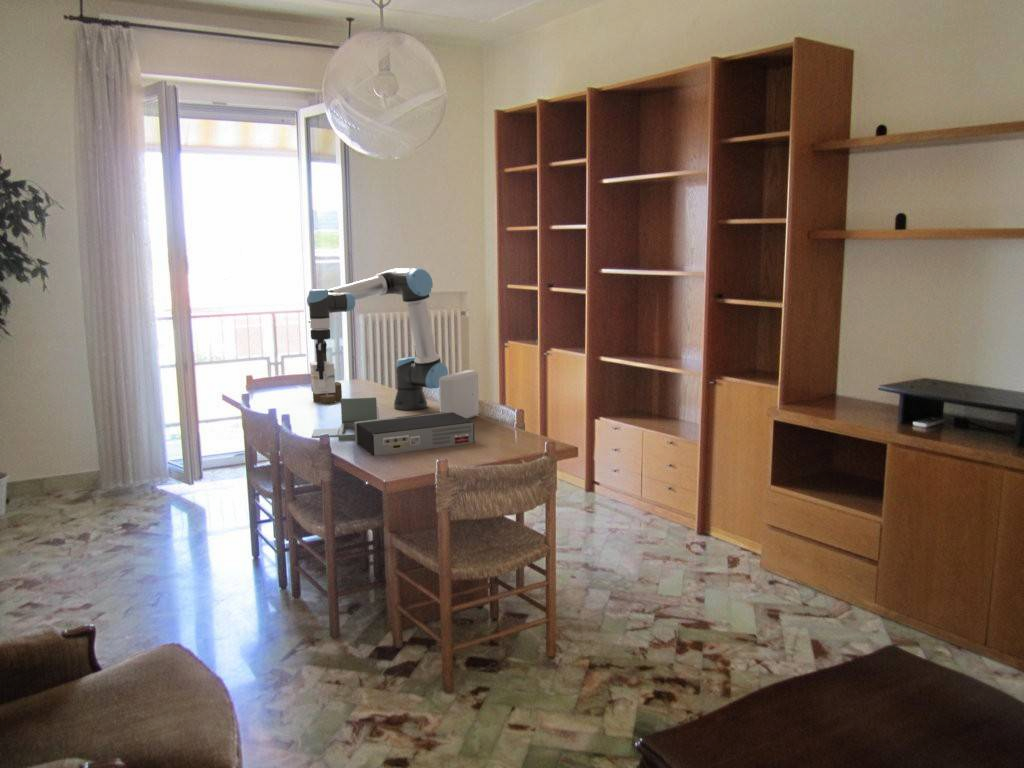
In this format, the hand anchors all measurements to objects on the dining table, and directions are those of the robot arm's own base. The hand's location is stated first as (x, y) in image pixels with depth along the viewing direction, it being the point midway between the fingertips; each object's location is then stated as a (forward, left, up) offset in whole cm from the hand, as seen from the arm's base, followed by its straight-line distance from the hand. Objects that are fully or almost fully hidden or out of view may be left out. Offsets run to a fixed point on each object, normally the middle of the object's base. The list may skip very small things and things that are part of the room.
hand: (323, 385), depth 330 cm
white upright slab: (-55, -16, -20) cm, 60 cm away
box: (-35, +20, -20) cm, 45 cm away
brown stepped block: (+5, -69, -20) cm, 72 cm away
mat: (0, 0, -20) cm, 20 cm away
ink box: (0, 0, -3) cm, 3 cm away
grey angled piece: (-13, +1, -20) cm, 24 cm away
